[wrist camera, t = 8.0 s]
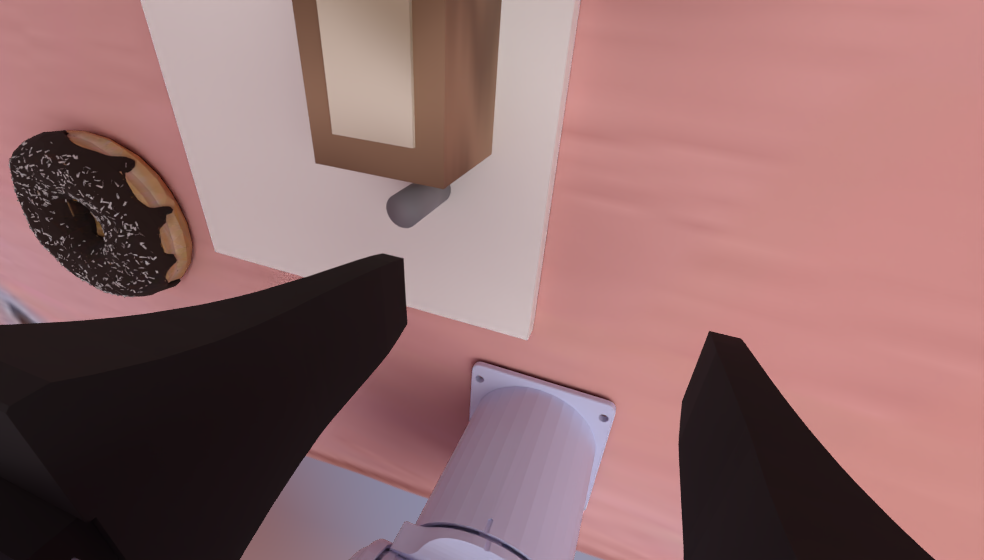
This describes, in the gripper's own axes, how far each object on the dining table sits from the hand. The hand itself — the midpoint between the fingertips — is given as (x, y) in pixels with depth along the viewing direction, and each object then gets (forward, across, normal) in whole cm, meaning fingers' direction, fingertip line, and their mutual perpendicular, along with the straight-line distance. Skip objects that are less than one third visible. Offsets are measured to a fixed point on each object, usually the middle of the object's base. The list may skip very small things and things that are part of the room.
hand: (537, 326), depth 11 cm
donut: (+10, +30, +7) cm, 33 cm away
